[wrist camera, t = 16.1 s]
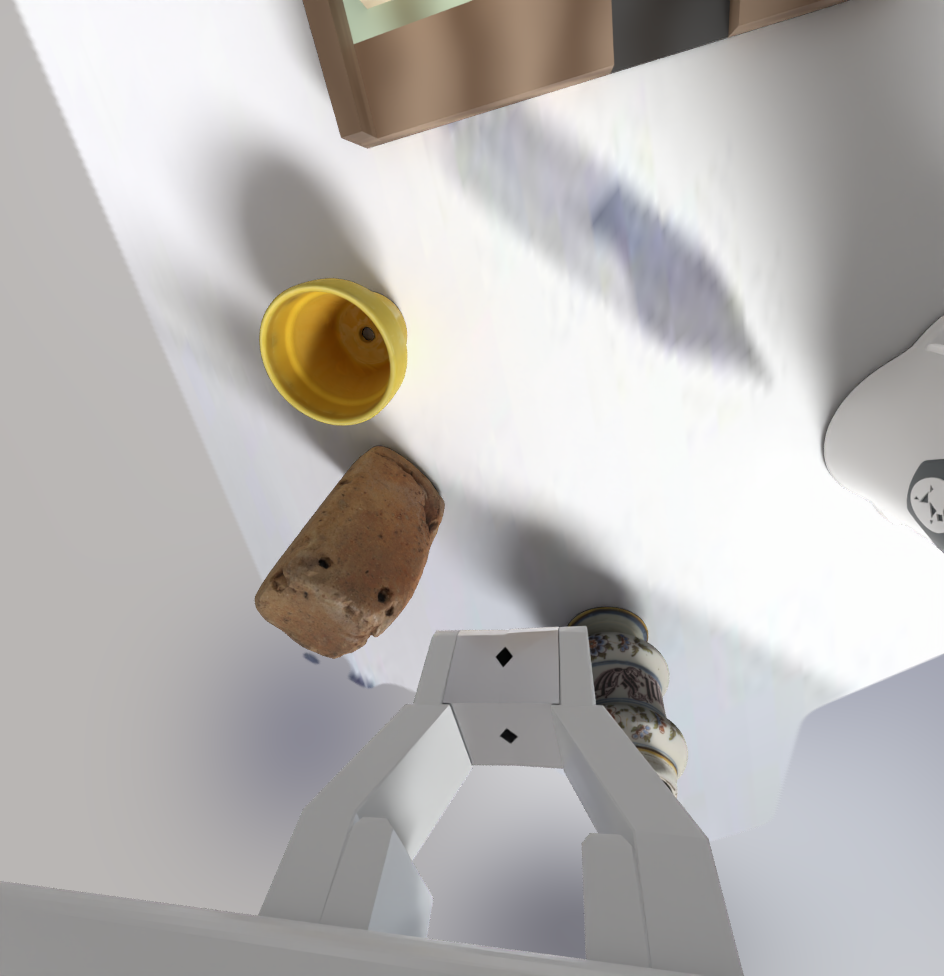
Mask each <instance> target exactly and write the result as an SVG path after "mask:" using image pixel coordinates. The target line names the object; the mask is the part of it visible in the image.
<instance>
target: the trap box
mask: <svg viewBox="0 0 944 976" xmlns="http://www.w3.org/2000/svg"><path fill="white" fill-rule="evenodd" d="M846 1H849V0H391V1H388V2H385V3H383V4H380V5H377V6H374V7H372V8H369V9H367V8H366V7H365V6H364V5H363V3H362V2H361V1H360V0H303V4H304V7H305V11H306V14H307V18H308V21H309V25H310V29H311V32H312V36H313V39H314V43H315V46H316V50H317V53H318V57H319V61H320V64H321V68H322V71H323V75H324V78H325V82H326V85H327V89H328V93H329V96H330V100H331V103H332V107H333V110H334V114H335V117H336V121H337V125H338V128H339V132H340V135H341V138H343V139H345V140H348V141H350V142H353V143H355V144H358V145H360V146H363V147H365V148H371V147H374V146H377V145H380V144H384V143H387V142H390V141H393V140H397V139H400V138H403V137H407V136H410V135H413V134H416V133H420V132H423V131H426V130H429V129H433V128H436V127H439V126H442V125H446V124H449V123H452V122H455V121H459V120H462V119H465V118H468V117H472V116H475V115H478V114H481V113H485V112H488V111H491V110H494V109H498V108H501V107H504V106H507V105H511V104H514V103H517V102H520V101H524V100H527V99H530V98H533V97H537V96H540V95H543V94H546V93H550V92H553V91H556V90H559V89H563V88H566V87H569V86H573V85H576V84H579V83H582V82H586V81H589V80H592V79H595V78H599V77H602V76H605V75H608V74H612V73H615V72H618V71H621V70H625V69H628V68H631V67H634V66H638V65H641V64H644V63H647V62H651V61H654V60H657V59H660V58H664V57H667V56H670V55H673V54H677V53H680V52H683V51H686V50H690V49H693V48H696V47H699V46H703V45H706V44H709V43H712V42H716V41H719V40H722V39H725V38H729V37H732V36H735V35H739V34H742V33H745V32H748V31H752V30H755V29H758V28H761V27H765V26H768V25H771V24H774V23H778V22H781V21H784V20H787V19H791V18H794V17H797V16H800V15H804V14H807V13H810V12H813V11H817V10H820V9H823V8H826V7H830V6H833V5H836V4H839V3H843V2H846Z"/></svg>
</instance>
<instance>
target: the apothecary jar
mask: <svg viewBox="0 0 944 976" xmlns="http://www.w3.org/2000/svg"><path fill="white" fill-rule="evenodd" d="M572 626H587V631H588V640H589V648H590V657H591V665H592V674H593V682H594V691H595V700H596V705H603V706H604V707H605V709H606V710H607V711H608V712H609V714H610V715H611V716H612V717H613V719H614V720H615V721H616V722H617V724H618V725H619V726H620V728H621V729H622V730H623V731H624V733H625V734H626V735H627V736H628V738H629V739H630V740H631V741H632V743H633V744H634V745H635V746H636V748H637V749H638V750H639V752H640V753H641V754H642V755H643V757H644V758H645V759H646V760H647V762H648V763H649V764H650V765H651V767H652V768H653V769H654V771H655V772H656V773H657V774H658V776H659V777H660V778H661V779H662V781H663V782H664V783H665V784H666V786H667V787H668V788H669V789H670V791H671V792H672V793H673V795H674V796H675V797H676V798H677V784H676V783H677V780H678V779H679V778H680V776H681V775H682V773H683V772H684V770H685V768H686V765H687V760H688V749H687V745H686V742H685V739H684V737H683V735H682V733H681V732H680V730H679V729H678V728H677V727H676V726H675V725H674V724H673V723H672V722H671V721H670V720H668V719H667V718H666V714H665V709H664V704H663V698H662V697H663V696H664V694H665V692H666V690H667V688H668V685H669V669H668V666H667V663H666V661H665V659H664V658H663V656H662V655H661V653H660V652H659V651H658V650H657V649H656V648H655V647H653V646H652V645H651V644H649V643H648V642H647V641H648V630H647V628H646V626H645V624H644V622H643V621H642V620H641V619H640V618H639V617H638V616H636V615H635V614H633V613H631V612H629V611H627V610H624V609H619V608H615V607H599V608H594V609H590V610H587V611H584V612H582V613H580V614H579V615H577V616H576V617H575V618H573V619H572V620H571V622H570V623H569V624H568V626H567V627H572Z"/></svg>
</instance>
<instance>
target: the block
mask: <svg viewBox="0 0 944 976" xmlns="http://www.w3.org/2000/svg"><path fill="white" fill-rule="evenodd" d="M444 507H445V503H444V501H443V499H442V498H441V497H440V496H439V494H438V492H437V491H436V489H435V488H434V487H433V485H432V484H431V482H430V481H429V480H428V479H427V477H426V476H424V475H423V474H422V473H421V472H420V471H419V470H418V469H417V468H416V467H415V466H414V465H413V464H412V463H411V462H409V461H408V460H407V459H405V458H404V457H403V456H401V455H399V454H397V453H396V452H394V451H392V450H390V449H389V448H386V447H383V446H375V447H373V448H372V449H370V450H369V451H367V452H366V453H365V454H363V455H362V456H361V457H360V458H359V459H358V460H357V461H356V462H355V463H354V464H353V465H352V466H351V467H350V468H349V470H348V471H347V472H346V473H345V475H344V476H343V477H342V479H341V480H340V481H339V482H338V484H337V485H336V486H335V487H334V489H333V490H332V491H331V493H330V494H329V495H328V496H327V498H326V499H325V500H324V502H323V503H322V504H321V505H320V507H319V508H318V509H317V511H316V512H315V513H314V515H313V516H312V517H311V519H310V520H309V521H308V522H307V524H306V525H305V526H304V528H303V529H302V530H301V532H300V533H299V534H298V536H297V537H296V538H295V539H294V541H293V542H292V543H291V545H290V546H289V547H288V549H287V550H286V551H285V553H284V554H283V555H282V556H281V558H280V559H279V561H278V562H277V563H276V565H275V566H274V567H273V569H272V570H271V571H270V573H269V574H268V576H267V577H266V579H265V580H264V582H263V583H262V585H261V587H260V588H259V590H258V592H257V594H256V596H255V605H256V608H257V610H258V611H259V613H260V614H261V615H262V617H263V618H264V619H265V620H266V621H268V622H269V623H271V624H272V625H274V626H275V627H277V628H279V629H281V630H282V631H283V632H285V633H286V634H287V635H288V636H289V637H290V638H291V639H292V640H294V641H295V642H296V643H298V644H299V645H301V646H302V647H304V648H306V649H308V650H311V651H313V652H316V653H318V654H320V655H322V656H326V657H329V658H333V659H335V658H338V657H341V656H342V655H344V654H348V653H352V652H354V651H356V650H357V649H359V648H361V647H362V646H364V645H365V644H366V642H367V639H368V638H369V637H370V635H373V636H374V637H378V636H379V635H380V634H382V633H383V632H384V631H385V629H386V628H388V627H389V626H390V625H391V624H392V622H393V621H394V620H395V619H396V618H397V617H398V615H399V614H400V613H401V612H402V610H403V609H404V608H405V606H406V605H407V604H408V602H409V600H410V599H411V598H412V596H413V593H414V591H415V589H416V587H417V585H418V583H419V580H420V578H421V576H422V573H423V569H424V567H425V565H426V562H427V558H428V554H429V549H430V547H431V544H432V542H433V540H434V538H435V536H436V534H437V531H438V527H439V525H440V523H441V521H442V517H443V513H444Z"/></svg>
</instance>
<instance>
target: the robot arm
mask: <svg viewBox="0 0 944 976" xmlns="http://www.w3.org/2000/svg"><path fill="white" fill-rule="evenodd" d="M824 458H825V462H826V466H827V468H828V471H829V473H830V474H831V476H832V477H833V479H834V480H835V481H836V482H837V483H838V484H839V485H840V486H842V487H843V488H844V489H846V490H847V491H849V492H851V493H853V494H855V495H857V496H859V497H861V498H863V499H865V500H867V501H869V502H870V503H872V504H873V506H874V507H875V509H876V510H877V512H878V513H879V514H880V515H881V516H882V517H883V518H885V519H886V520H888V521H889V522H891V523H892V524H895V525H905V526H906V527H908V528H910V529H911V530H913V531H914V532H916V533H917V534H919V535H920V536H922V537H923V538H925V539H926V540H928V541H929V542H931V543H932V544H934V545H935V546H937V548H939V549H940V550H941V551H942V552H943V553H944V315H943V316H942V317H941V318H939V319H938V320H937V321H936V322H935V323H934V324H933V325H932V326H931V327H930V328H928V329H927V331H926V332H925V333H924V334H923V335H922V336H921V337H920V338H919V339H918V340H917V341H916V343H915V344H914V345H913V346H912V347H911V348H909V349H908V350H907V351H906V352H904V353H903V354H901V355H900V356H898V357H896V358H895V359H893V360H892V361H890V362H888V363H887V364H885V365H884V366H882V367H880V368H879V369H878V370H876V371H875V372H873V373H872V374H871V375H869V376H868V377H867V378H866V379H864V380H863V381H862V382H861V383H860V384H859V385H858V386H857V387H856V388H855V389H854V390H853V391H852V392H851V393H850V394H849V395H848V396H847V397H846V399H845V400H844V401H843V402H842V404H841V405H840V407H839V408H838V410H837V411H836V413H835V414H834V416H833V418H832V420H831V422H830V425H829V427H828V430H827V433H826V437H825V442H824ZM472 765H516V766H531V767H546V768H561V769H564V772H565V774H566V776H567V778H568V780H569V781H570V783H571V785H572V787H573V789H574V791H575V792H576V794H577V796H578V798H579V800H580V801H581V803H582V805H583V807H584V809H585V811H586V812H587V814H588V816H589V818H590V820H591V821H592V823H593V825H594V827H595V829H596V830H597V832H598V833H589V835H588V836H587V837H586V838H585V840H584V841H583V842H582V865H583V893H584V919H585V946H586V960H585V959H578V958H570V957H563V956H556V955H548V954H540V953H533V952H526V951H518V950H511V949H503V948H496V947H489V946H481V945H474V944H466V943H459V942H451V941H444V940H436V939H428V938H427V935H428V929H429V923H430V917H431V910H432V904H433V897H432V894H431V892H430V890H429V888H428V886H427V885H426V883H425V881H424V880H423V878H422V876H421V875H420V873H419V871H418V870H417V868H416V866H415V864H414V863H413V860H414V858H415V856H416V855H417V853H418V852H419V850H420V849H421V847H422V846H423V844H424V842H425V841H426V839H427V838H428V836H429V835H430V833H431V832H432V830H433V829H434V827H435V826H436V824H437V822H438V821H439V819H440V818H441V816H442V815H443V813H444V812H445V810H446V809H447V807H448V806H449V804H450V802H451V801H452V799H453V798H454V796H455V795H456V793H457V792H458V790H459V789H460V786H461V785H462V784H463V782H464V781H465V779H466V778H467V776H468V775H469V773H470V772H471V770H472ZM0 976H744V975H743V971H742V967H741V963H740V959H739V956H738V951H737V948H736V944H735V940H734V936H733V932H732V928H731V924H730V920H729V917H728V913H727V909H726V905H725V901H724V897H723V893H722V890H721V886H720V882H719V878H718V874H717V870H716V866H715V862H714V859H713V855H712V850H711V847H710V843H709V839H708V838H707V836H706V835H705V834H704V832H703V831H702V830H701V829H700V827H699V826H698V825H697V824H696V822H695V821H694V820H693V819H692V817H691V816H690V815H689V814H688V812H687V811H686V810H685V808H684V807H683V806H682V805H681V803H680V802H679V801H678V800H677V798H676V797H675V796H674V795H673V793H672V792H671V791H670V789H669V788H668V787H667V786H666V784H665V783H664V782H663V781H662V779H661V778H660V777H659V776H658V774H657V773H656V772H655V771H654V769H653V768H652V767H651V765H650V764H649V763H648V762H647V760H646V759H645V758H644V757H643V755H642V754H641V753H640V752H639V750H638V749H637V748H636V746H635V745H634V744H633V743H632V741H631V740H630V739H629V738H628V736H627V735H626V734H625V733H624V731H623V730H622V729H621V728H620V726H619V725H618V724H617V722H616V721H615V720H614V719H613V717H612V716H611V715H610V714H609V712H608V711H607V710H606V709H605V707H604V706H603V705H596V700H595V691H594V682H593V674H592V665H591V657H590V648H589V640H588V631H587V626H572V627H560V628H559V627H542V628H520V629H509V630H445V631H436V632H435V634H434V635H433V637H432V639H431V643H430V646H429V650H428V653H427V657H426V660H425V664H424V667H423V671H422V674H421V678H420V681H419V685H418V688H417V692H416V695H415V699H414V702H413V704H405V705H404V706H403V707H402V709H401V710H399V712H398V713H397V714H396V715H395V716H394V717H393V718H392V719H391V720H390V721H389V722H388V723H387V724H386V725H385V726H384V727H383V728H382V729H381V730H380V731H379V732H378V733H377V734H376V735H375V736H374V737H373V738H372V739H371V740H370V741H369V742H368V743H367V744H366V745H365V746H364V747H363V748H362V749H361V750H360V751H359V752H358V754H357V755H356V756H355V757H354V758H353V759H352V760H351V761H350V762H349V763H348V764H347V765H346V766H345V767H344V768H343V769H342V770H341V771H340V772H339V773H338V774H337V775H336V776H335V777H334V778H333V779H332V780H331V781H330V782H329V783H328V784H327V785H326V786H325V787H324V788H323V789H322V790H321V792H319V793H318V795H317V796H316V797H315V798H314V799H313V800H312V801H311V802H310V803H309V804H308V805H307V806H306V807H305V808H304V809H303V811H302V813H301V815H300V818H299V820H298V822H297V825H296V827H295V829H294V832H293V834H292V837H291V839H290V841H289V844H288V846H287V848H286V851H285V853H284V855H283V858H282V860H281V863H280V865H279V867H278V870H277V872H276V875H275V877H274V879H273V881H272V884H271V886H270V889H269V891H268V893H267V896H266V898H265V901H264V903H263V905H262V907H261V910H260V912H259V915H249V914H243V913H235V912H228V911H219V910H213V909H206V908H197V907H190V906H183V905H175V904H168V903H161V902H153V901H146V900H139V899H130V898H123V897H116V896H109V895H101V894H94V893H86V892H79V891H71V890H64V889H57V888H49V887H41V886H34V885H26V884H19V883H12V882H4V881H0Z"/></svg>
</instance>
